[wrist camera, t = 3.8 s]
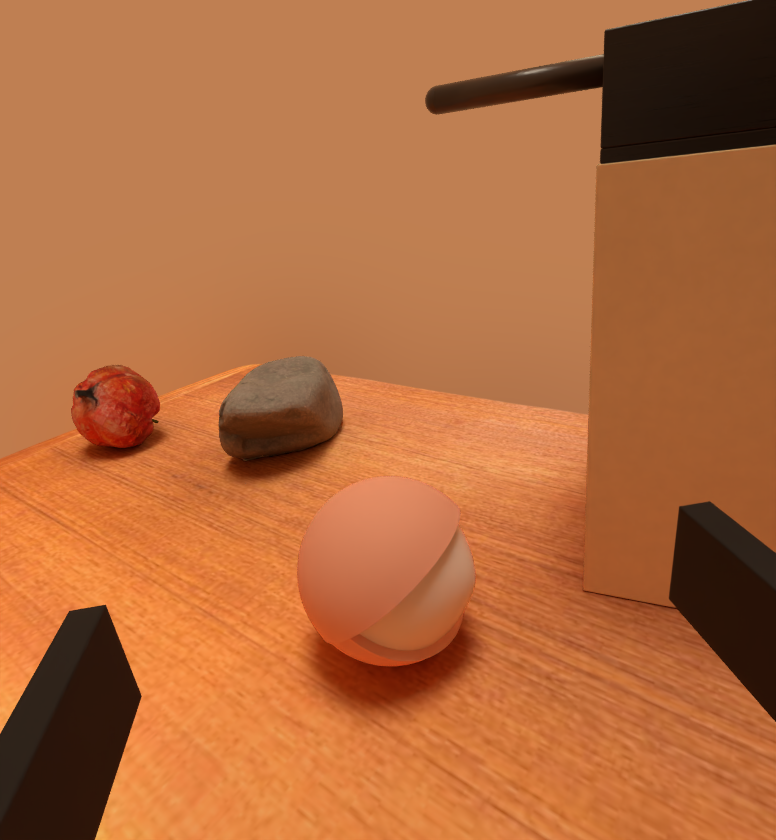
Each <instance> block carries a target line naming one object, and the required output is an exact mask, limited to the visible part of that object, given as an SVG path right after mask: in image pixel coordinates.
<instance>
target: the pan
mask: <svg viewBox="0 0 776 840" xmlns="http://www.w3.org/2000/svg"><path fill="white" fill-rule="evenodd" d="M599 87H603V93H602V121H601V148H602V149H601V152H600V163H601V164H607V163H615V162H624V161H633V160H642V159H651V158H660V157H669V156H678V155H687V154H695V153H704V152H713V151H722V150H731V149H740V148H749V147H758V146H767V145H776V0H748V1H743V2H738V3H733V4H728V5H724V6H718V7H714V8H709V9H704V10H699V11H694V12H689V13H685V14H680V15H675V16H670V17H665V18H660V19H655V20H651V21H646V22H641V23H636V24H632V25H626V26H622V27H617V28H612V29H607V30H605V35H604V54H602V55H597V56H592V57H587V58H581V59H577V60H571V61H565V62H560V63H555V64H550V65H544V66H539V67H534V68H528V69H523V70H518V71H513V72H507V73H502V74H497V75H492V76H487V77H481V78H476V79H470V80H465V81H460V82H455V83H450V84H444V85H439V86H435V87H432V88H431V89H430V90H429V91H428V93H427V95H426V98H425V103H426V107H427V109H428V110H429V111H430V112H431V113H433V114H443V113H450V112H456V111H462V110H467V109H474V108H480V107H486V106H492V105H498V104H503V103H509V102H516V101H521V100H528V99H534V98H540V97H546V96H552V95H558V94H564V93H569V92H576V91H582V90H588V89H594V88H599Z"/></svg>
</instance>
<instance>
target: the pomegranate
mask: <svg viewBox="0 0 776 840" xmlns="http://www.w3.org/2000/svg"><path fill="white" fill-rule="evenodd" d="M159 410H160V402H159V399H158V396H157V393H156V391H155V390H154V388H153V387H152V385H151V384H150V383H149V382H148V381H147V380H145V379H144V378H143V377H141V376H140V375H139V374H137V373H136V372H134V371H133V370H131V369H130V368H128V367H125V366H122V365H111V366H106V367H103V368H99V369H97V370H94V371H92V372H91V373H90V374H89V375H88V377H87V379H86V380H85V381H83V382H81V383H79V384H78V385H77V386H76V388H75V389H74V396H73V406H72V409H71V413H72V419H73V422H74V424H75V426H76V428H77V430H78V431H79V433H80V434H81V435H82V436H84V437H85V438H86V439H87V440H88V441H90V442H92V443H93V444H95V445H98V446H107V447H111V446H114V447H118V448H127V447H133V446H136V445H139V444H141V443H143V442H144V440H145V439H146V438H147V437H148V436H149V435H150V434H151V433H152V431H153V422H154V423H158V421H157V420H154V419H152V417H153V416H155V415H156V414H157V413H158V412H159Z"/></svg>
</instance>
